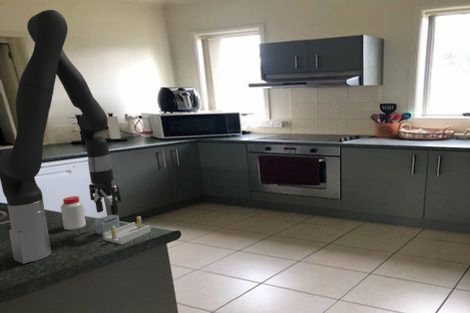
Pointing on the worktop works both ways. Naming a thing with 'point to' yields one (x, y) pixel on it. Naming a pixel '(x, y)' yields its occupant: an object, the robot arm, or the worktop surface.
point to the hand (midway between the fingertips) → (107, 213)
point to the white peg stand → (126, 232)
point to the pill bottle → (73, 213)
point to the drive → (106, 224)
